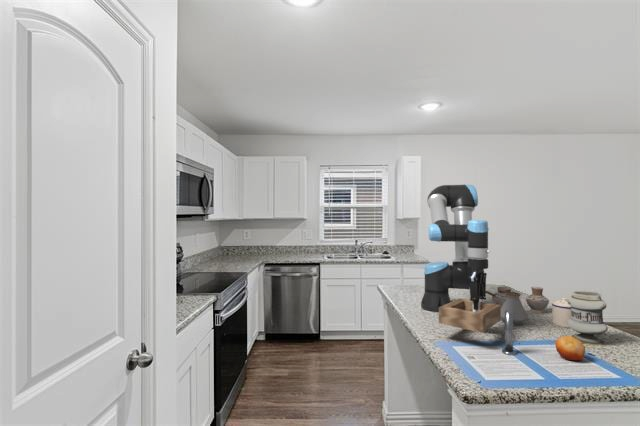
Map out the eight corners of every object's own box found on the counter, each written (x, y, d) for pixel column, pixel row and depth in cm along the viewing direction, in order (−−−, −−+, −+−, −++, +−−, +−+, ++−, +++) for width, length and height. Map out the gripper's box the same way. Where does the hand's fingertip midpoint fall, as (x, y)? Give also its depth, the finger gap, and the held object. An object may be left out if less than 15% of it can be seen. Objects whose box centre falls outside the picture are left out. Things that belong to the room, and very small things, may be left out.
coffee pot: (521, 319, 159) (521, 286, 159) (532, 327, 148) (532, 291, 148) (472, 316, 163) (472, 284, 163) (478, 324, 152) (478, 289, 152)
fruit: (577, 349, 119) (582, 332, 116) (585, 369, 113) (590, 352, 109) (550, 346, 122) (553, 330, 118) (556, 365, 116) (560, 349, 112)
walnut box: (438, 323, 133) (438, 307, 133) (459, 312, 147) (459, 298, 147) (482, 332, 122) (482, 315, 122) (500, 320, 136) (500, 305, 136)
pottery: (551, 316, 165) (551, 290, 165) (493, 310, 174) (492, 286, 174) (546, 310, 175) (546, 286, 175) (491, 305, 184) (490, 282, 184)
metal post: (500, 352, 120) (499, 312, 120) (504, 349, 123) (503, 309, 123) (514, 356, 117) (514, 314, 117) (517, 352, 120) (517, 311, 120)
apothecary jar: (560, 334, 138) (560, 289, 138) (591, 335, 138) (591, 289, 138) (582, 346, 126) (581, 296, 126) (616, 346, 126) (615, 296, 126)
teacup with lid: (580, 329, 145) (579, 301, 145) (554, 326, 148) (553, 299, 148) (572, 321, 156) (572, 295, 156) (548, 319, 159) (548, 293, 159)
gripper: (480, 260, 132) (481, 322, 132) (494, 257, 144) (494, 314, 144) (460, 259, 138) (461, 318, 137) (475, 255, 149) (475, 310, 149)
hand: (478, 316), depth 141 cm, fingers closed on walnut box, 3 cm apart
